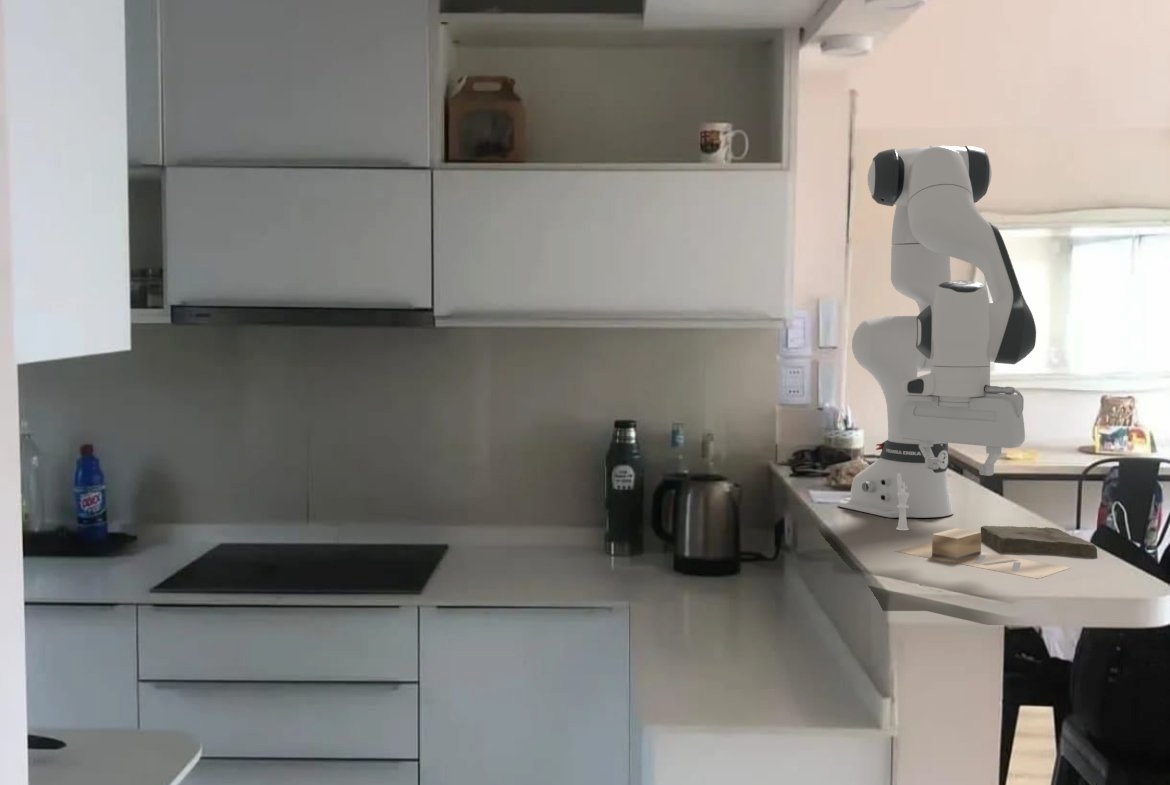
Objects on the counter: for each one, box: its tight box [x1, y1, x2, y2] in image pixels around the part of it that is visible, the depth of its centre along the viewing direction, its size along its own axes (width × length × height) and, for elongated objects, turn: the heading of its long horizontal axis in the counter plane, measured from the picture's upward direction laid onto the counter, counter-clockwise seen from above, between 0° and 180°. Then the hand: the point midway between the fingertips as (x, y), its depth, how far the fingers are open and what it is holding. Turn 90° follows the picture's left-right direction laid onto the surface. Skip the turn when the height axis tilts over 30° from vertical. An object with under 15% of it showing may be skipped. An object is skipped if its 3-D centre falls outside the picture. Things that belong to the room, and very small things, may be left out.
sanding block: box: [931, 528, 982, 561], centre depth 174 cm, size 4×7×4 cm, turn 131°
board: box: [894, 542, 1070, 580], centre depth 171 cm, size 24×10×2 cm, turn 41°
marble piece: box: [980, 525, 1098, 559], centre depth 181 cm, size 17×15×4 cm
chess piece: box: [895, 482, 910, 532], centre depth 194 cm, size 5×5×10 cm
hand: (958, 472), depth 173 cm, fingers open, 8 cm apart
